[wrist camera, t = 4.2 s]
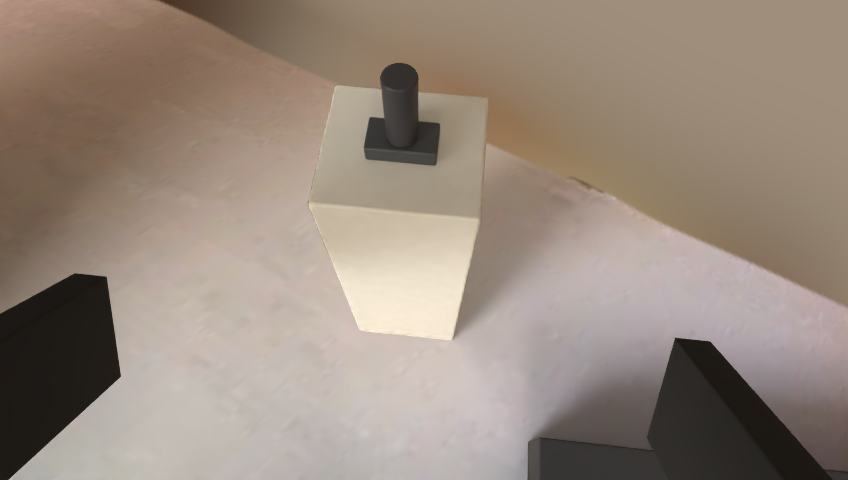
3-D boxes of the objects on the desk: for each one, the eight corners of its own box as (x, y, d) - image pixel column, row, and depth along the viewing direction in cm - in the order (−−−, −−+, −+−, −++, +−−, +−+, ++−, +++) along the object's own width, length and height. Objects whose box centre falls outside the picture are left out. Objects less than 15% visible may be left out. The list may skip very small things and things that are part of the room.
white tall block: (452, 340, 22) (495, 160, 10) (359, 331, 22) (279, 140, 10) (459, 262, 24) (503, 19, 11) (371, 253, 24) (317, 4, 11)
